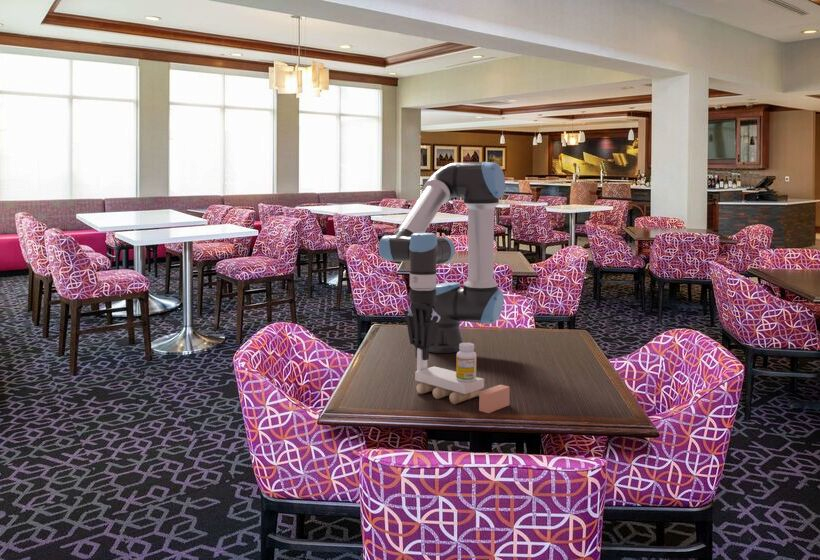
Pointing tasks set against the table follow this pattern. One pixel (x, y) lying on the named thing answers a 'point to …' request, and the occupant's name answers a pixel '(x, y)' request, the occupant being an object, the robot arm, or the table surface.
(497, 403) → the block
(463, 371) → the supplement bottle
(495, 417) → the table surface
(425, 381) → the slab
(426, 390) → the roller bed
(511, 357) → the table surface
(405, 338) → the table surface
